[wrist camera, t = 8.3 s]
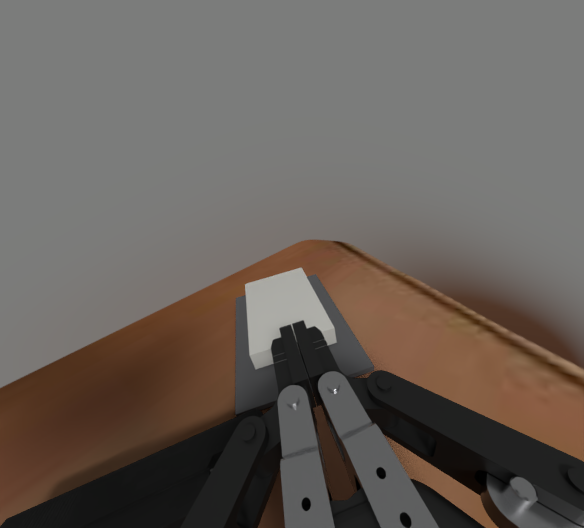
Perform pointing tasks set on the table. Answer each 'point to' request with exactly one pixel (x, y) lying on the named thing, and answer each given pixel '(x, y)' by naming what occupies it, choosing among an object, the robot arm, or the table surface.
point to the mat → (347, 353)
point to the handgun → (138, 488)
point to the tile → (281, 312)
